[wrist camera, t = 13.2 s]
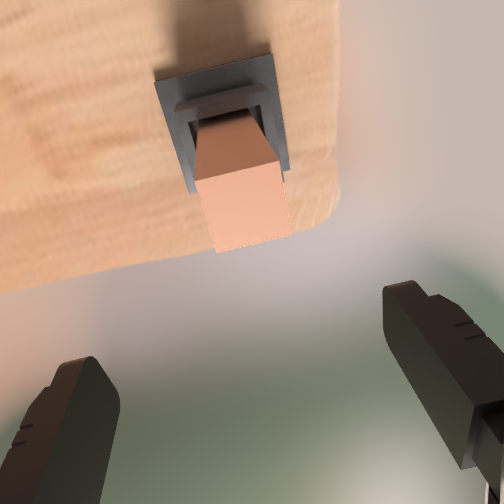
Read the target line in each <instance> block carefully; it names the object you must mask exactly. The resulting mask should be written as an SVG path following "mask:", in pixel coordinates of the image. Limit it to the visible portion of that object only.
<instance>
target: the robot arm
mask: <svg viewBox="0 0 504 504" xmlns="http://www.w3.org/2000/svg"><path fill="white" fill-rule="evenodd" d="M382 295H383V330H384V335H385V338H386V341H387V344H388V346H389V348H390V350H391V352H392V354H393V355H394V357H395V359H396V360H397V362H398V364H399V366H400V367H401V369H402V371H403V372H404V374H405V376H406V377H407V379H408V381H409V382H410V384H411V386H412V388H413V389H414V391H415V393H416V394H417V396H418V398H419V400H420V401H421V403H422V405H423V406H424V408H425V410H426V411H427V413H428V415H429V417H430V418H431V420H432V422H433V423H434V425H435V427H436V429H437V430H438V432H439V434H440V435H441V437H442V439H443V440H444V442H445V444H446V446H447V447H448V449H449V451H450V452H451V454H452V456H453V457H454V459H455V461H456V462H457V464H458V466H459V468H460V469H461V470H463V469H467V468H472V467H476V466H477V467H478V468H479V469H480V472H481V473H482V475H483V476H484V478H485V479H486V481H487V483H486V494H485V504H504V353H503V352H502V351H501V350H500V349H499V348H498V347H497V345H496V344H494V342H493V341H492V340H491V339H490V338H489V337H486V335H485V333H484V332H483V331H482V329H481V328H480V327H479V326H478V325H477V324H474V322H473V320H472V319H471V318H470V317H469V316H468V315H467V313H466V312H465V311H464V310H463V309H462V308H461V307H460V306H459V305H457V304H456V303H454V302H452V301H450V300H449V299H447V298H445V297H443V296H441V295H439V294H438V295H433V296H429V297H428V295H427V294H426V293H425V292H424V291H423V290H422V288H421V287H420V286H419V285H418V284H417V283H416V282H415V281H413V280H410V281H406V282H402V283H397V284H393V285H389V286H385V287H384V288H383V294H382ZM119 413H120V399H119V395H118V392H117V390H116V388H115V386H114V385H113V383H112V382H111V380H110V379H109V377H108V376H107V374H106V373H105V371H104V370H103V369H102V367H101V365H100V364H99V362H98V361H97V360H96V359H95V358H94V357H92V356H89V357H85V358H81V359H77V360H73V361H68V362H65V363H62V364H61V365H60V366H59V367H58V369H57V372H56V374H55V376H54V379H53V381H52V383H51V385H50V386H49V387H45V388H44V389H43V390H42V392H41V393H40V394H39V395H38V397H37V398H36V399H35V400H34V401H33V403H32V404H31V405H30V406H29V408H28V410H27V413H26V414H25V417H24V419H23V421H22V423H21V425H20V431H18V432H17V434H16V436H15V438H14V440H13V442H12V448H11V449H9V451H8V453H7V455H6V457H5V459H4V461H3V464H2V466H1V468H0V504H99V502H100V498H101V494H102V489H103V485H104V480H105V476H106V471H107V467H108V462H109V458H110V453H111V448H112V444H113V440H114V435H115V431H116V427H117V422H118V418H119Z"/></svg>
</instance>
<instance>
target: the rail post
mask: <svg viewBox="0 0 504 504" xmlns="http://www.w3.org/2000/svg"><path fill="white" fill-rule="evenodd" d="M194 182H195V186H196V189H197V192H198V195H199V198H200V202H201V205H202V208H203V211H204V214H205V218H206V221H207V224H208V227H209V230H210V234H211V237H212V240H213V243H214V246H215V250H216V253H219V252H223V251H228V250H231V249H236V248H240V247H244V246H248V245H252V244H256V243H261V242H265V241H269V240H273V239H278V238H282V237H286V236H290V235H292V233H291V227H290V221H289V216H288V210H287V204H286V198H285V192H284V186H283V180H282V175H281V169H280V163H279V160H278V158H277V156H276V155H275V153H274V151H273V150H272V148H271V146H270V145H269V143H268V141H267V139H266V138H265V136H264V134H263V133H262V131H261V129H260V128H259V126H258V124H257V123H256V121H255V119H254V117H253V116H252V114H251V112H250V111H249V109H248V108H245V109H240V110H236V111H232V112H228V113H224V114H220V115H216V116H212V117H208V118H204V119H200V120H199V121H198V135H197V149H196V163H195V177H194Z"/></svg>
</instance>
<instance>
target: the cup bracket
mask: <svg viewBox="0 0 504 504" xmlns="http://www.w3.org/2000/svg"><path fill="white" fill-rule="evenodd" d="M154 85H155V88H156V91H157V94H158V98H159V101H160V104H161V107H162V110H163V113H164V116H165V119H166V122H167V125H168V129H169V132H170V135H171V138H172V141H173V144H174V147H175V150H176V153H177V156H178V160H179V163H180V166H181V169H182V172H183V175H184V178H185V181H186V184H187V187H188V190H189V194H191V193H195V192H197V189H196V186H195V182H194V177H195V163H196V149H197V135H198V121H199V120H200V119H204V118H208V117H212V116H216V115H220V114H224V113H228V112H232V111H236V110H240V109H245V108H248V109H249V111H250V112H251V114H252V116H253V117H254V119H255V121H256V123H257V124H258V126H259V128H260V129H261V131H262V133H263V134H264V136H265V138H266V139H267V141H268V143H269V145H270V146H271V148H272V150H273V151H274V153H275V155H276V156H277V158H278V160H279V163H280V169H281V175H282V180H283V182H284V177H283V171H287V170H290V165H289V158H288V152H287V145H286V139H285V132H284V126H283V119H282V112H281V106H280V99H279V93H278V86H277V80H276V73H275V67H274V60H273V54H271V53H270V54H266V55H262V56H258V57H253V58H249V59H245V60H241V61H237V62H233V63H229V64H225V65H220V66H216V67H212V68H208V69H204V70H200V71H196V72H192V73H188V74H183V75H179V76H175V77H171V78H167V79H163V80H159V81H155V82H154ZM197 193H198V192H197ZM198 196H199V195H198ZM199 199H200V198H199Z"/></svg>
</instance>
